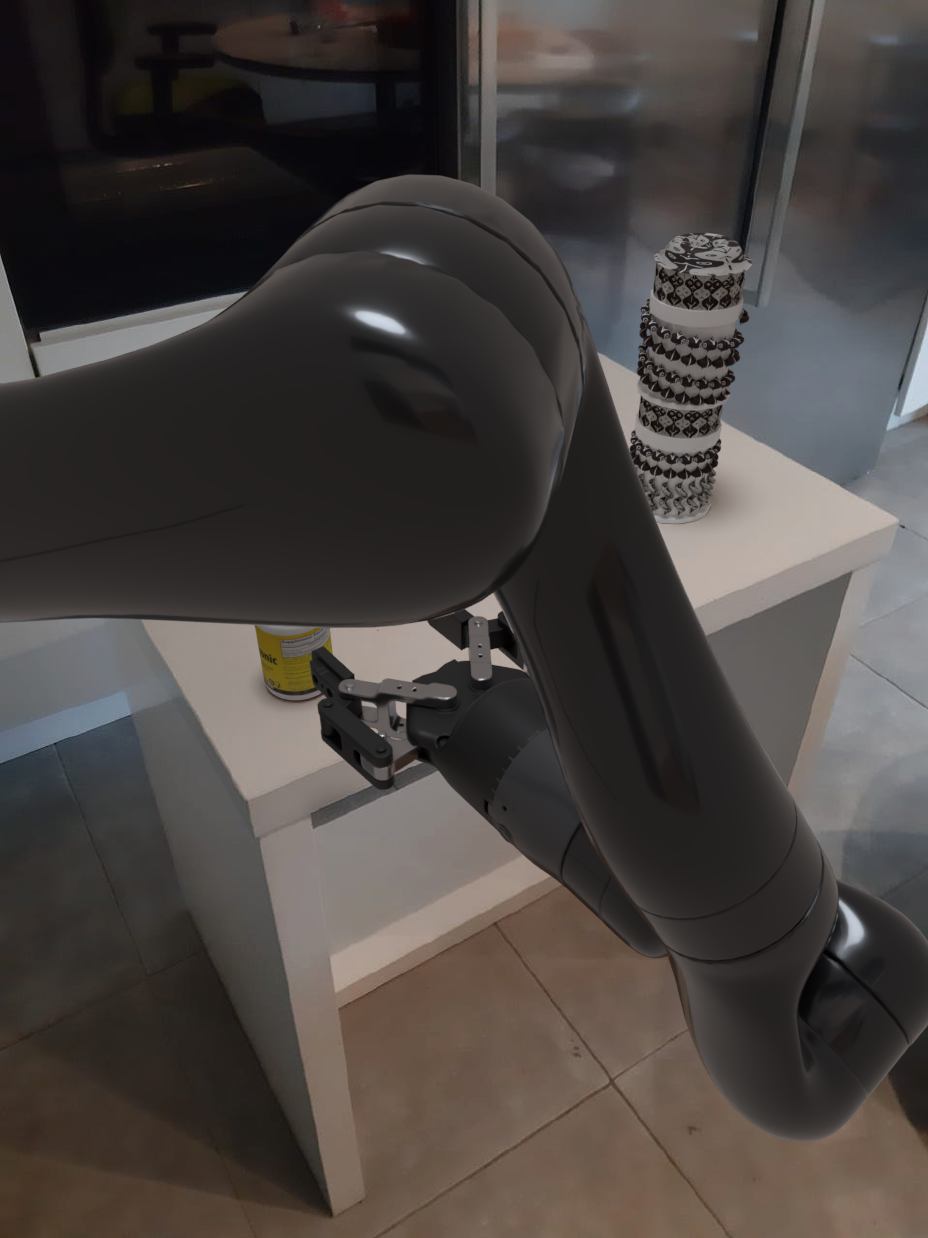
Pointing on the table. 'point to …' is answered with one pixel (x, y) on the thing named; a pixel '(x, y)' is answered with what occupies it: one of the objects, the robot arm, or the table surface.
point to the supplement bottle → (290, 658)
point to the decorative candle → (687, 371)
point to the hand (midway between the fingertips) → (375, 632)
